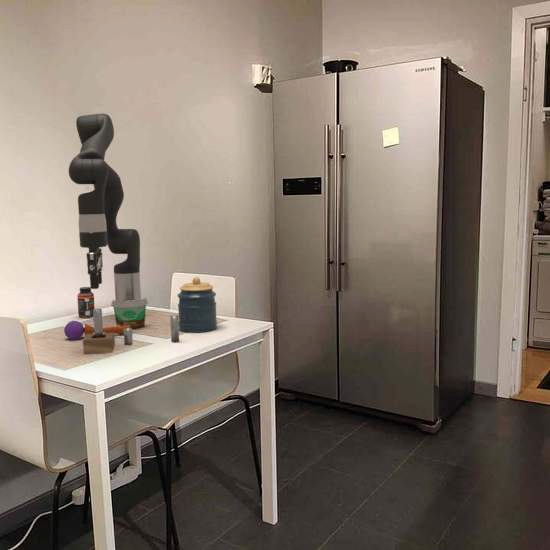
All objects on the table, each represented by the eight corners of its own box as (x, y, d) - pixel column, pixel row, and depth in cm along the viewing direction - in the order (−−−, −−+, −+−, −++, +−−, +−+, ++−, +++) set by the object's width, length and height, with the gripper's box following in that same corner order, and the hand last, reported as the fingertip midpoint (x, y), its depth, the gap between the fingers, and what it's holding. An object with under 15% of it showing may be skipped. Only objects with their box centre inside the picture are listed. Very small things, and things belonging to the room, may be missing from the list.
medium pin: (171, 340, 171) (170, 315, 170) (179, 340, 172) (178, 315, 170) (171, 342, 169) (170, 317, 168) (179, 342, 169) (178, 316, 168)
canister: (182, 334, 179) (180, 280, 177) (175, 326, 191) (173, 275, 189) (221, 331, 183) (219, 278, 181) (212, 323, 195) (211, 273, 193)
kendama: (130, 325, 177) (63, 325, 171) (129, 342, 178) (63, 342, 173) (129, 318, 182) (65, 318, 176) (128, 334, 184) (65, 335, 178)
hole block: (87, 347, 165) (86, 334, 164) (114, 345, 167) (114, 332, 166) (83, 354, 157) (82, 340, 157) (112, 352, 159) (111, 338, 158)
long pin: (95, 348, 163) (93, 308, 161) (104, 348, 163) (102, 308, 162) (95, 350, 161) (92, 310, 159) (103, 350, 161) (101, 310, 159)
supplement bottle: (92, 318, 207) (90, 288, 205) (76, 318, 206) (74, 288, 205) (97, 315, 213) (95, 286, 211) (81, 315, 212) (79, 286, 211)
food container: (115, 332, 183) (113, 302, 182) (112, 328, 189) (110, 299, 188) (152, 328, 188) (150, 299, 187) (148, 324, 194) (147, 296, 193)
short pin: (124, 343, 168) (123, 327, 168) (132, 343, 169) (132, 327, 168) (124, 345, 166) (123, 329, 165) (132, 345, 166) (131, 329, 166)
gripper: (82, 229, 163) (86, 283, 166) (75, 232, 149) (79, 291, 152) (108, 228, 165) (112, 282, 167) (104, 231, 151) (107, 289, 153)
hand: (96, 286), depth 159 cm, fingers open, 8 cm apart
